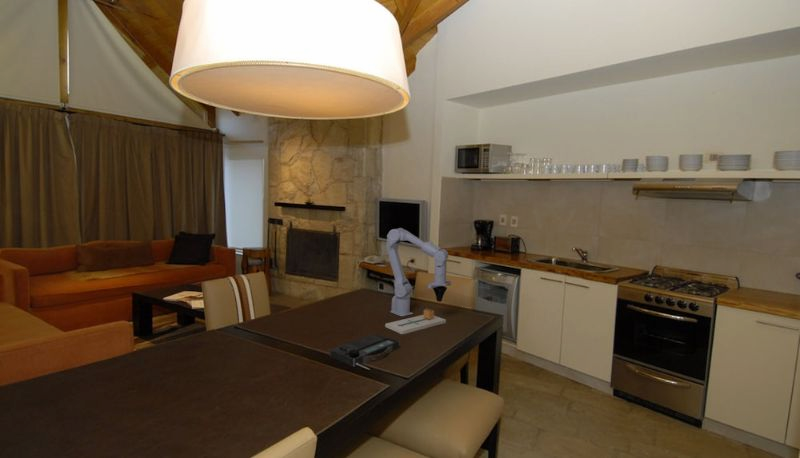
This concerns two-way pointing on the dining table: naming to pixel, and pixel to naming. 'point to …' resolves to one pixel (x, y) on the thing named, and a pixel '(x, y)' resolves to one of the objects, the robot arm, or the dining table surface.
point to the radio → (364, 350)
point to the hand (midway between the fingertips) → (439, 301)
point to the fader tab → (428, 313)
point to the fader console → (414, 324)
